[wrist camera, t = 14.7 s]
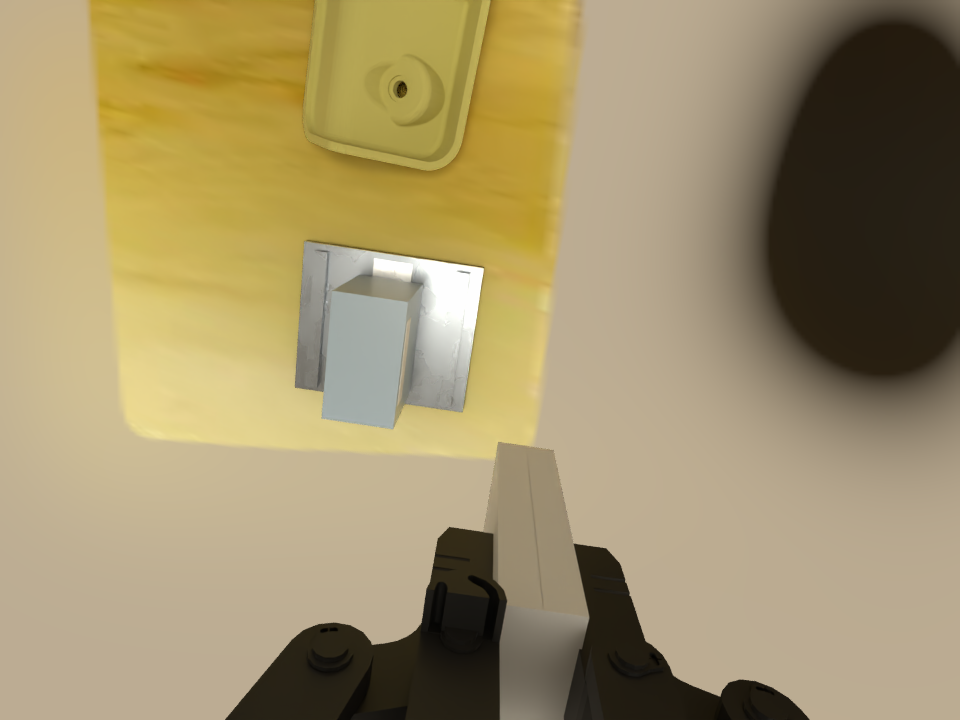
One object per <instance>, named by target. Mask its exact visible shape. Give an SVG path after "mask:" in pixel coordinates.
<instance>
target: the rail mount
mask: <svg viewBox="0 0 960 720" xmlns="http://www.w3.org/2000/svg"><path fill="white" fill-rule="evenodd" d="M483 271H484V267H478V266H472V265H465V264H459V263H452V262H445V261H439V260H432V259H426V258H419V257H412V256H406V255H399V254H393V253H386V252H379V251H373V250H366V249H360V248H353V247H346V246H340V245H333V244H327V243H320V242H313V241H304V256H303V271H302V286H301V301H300V317H299V332H298V347H297V363H296V378H295V388H302V389H309V390H315V391H322V392H324V383H325V371H326V358H327V346H328V334H329V321H330V309H331V296H332V290H334V289H336V288H337V287H339V286H341V285H343V284H344V283H346V282H348V281H350V280H351V279H353V278H355V277H356V276H358V275H365V276H372V277H378V278H385V279H391V280H398V281H405V282H411V283H418V284H423V289H422V297H421V305H420V313H419V321H418V329H417V338H416V346H415V354H414V362H413V370H412V379H411V387H410V393H409V395H408V397H407V400H406V402H405V404H409V405H416V406H423V407H430V408H436V409H443V410H450V411H456V412H463V406H464V399H465V392H466V385H467V379H468V372H469V365H470V358H471V352H472V345H473V338H474V331H475V325H476V318H477V311H478V304H479V298H480V291H481V284H482V277H483Z"/></svg>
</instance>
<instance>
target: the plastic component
mask: <svg viewBox="0 0 960 720" xmlns="http://www.w3.org/2000/svg"><path fill="white" fill-rule="evenodd" d="M490 1H491V0H315V4H314V13H313V22H312V31H311V40H310V49H309V58H308V67H307V75H306V84H305V93H304V102H303V126H304V132H305V135H306V138H307V140H308V141H309V142H311V143H314V144H316V145H318V146H321V147H323V148H325V149H328V150H331V151H335V152H339V153H343V154H348V155H353V156H357V157H362V158H367V159H372V160H377V161H382V162H387V163H392V164H396V165H401V166H406V167H411V168H416V169H421V170H426V171H427V170H436V169H440V168H443V167H444V166H446V165H447V164H449V163H450V162H451V161H452V160H453V159H454V158H455V156H456V155H457V153H458V152H459V149H460V147H461V144H462V140H463V135H464V130H465V125H466V120H467V115H468V110H469V105H470V100H471V95H472V90H473V86H474V81H475V76H476V71H477V66H478V61H479V56H480V51H481V46H482V41H483V36H484V31H485V26H486V21H487V16H488V11H489V6H490ZM402 82H405V83H406V85H407V93H406V95H405V96H404V97H403V98H399V96H398V94H397V88H398V85H399V84H400V83H402Z"/></svg>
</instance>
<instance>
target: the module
mask: <svg viewBox="0 0 960 720" xmlns="http://www.w3.org/2000/svg"><path fill="white" fill-rule="evenodd" d="M422 289H423V284H418V283H411V282H405V281H398V280H391V279H385V278H378V277H372V276H365V275H358V276H356V277H355V278H353V279H351V280H350V281H348V282H346V283H344V284H343V285H341V286H339V287H337V288H336V289H334V290H332V296H331V309H330V321H329V334H328V346H327V358H326V371H325V383H324V396H323V408H322V419H328V420H335V421H342V422H348V423H355V424H362V425H368V426H375V427H382V428H389V429H394V426H395V424H396V422H397V420H398V417H399V415H400V413H401V411H402V409H403V406H404V404H405V402H406V400H407V397H408V395H409V393H410V387H411V379H412V370H413V362H414V354H415V346H416V338H417V329H418V321H419V313H420V305H421V297H422Z"/></svg>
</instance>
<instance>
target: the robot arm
mask: <svg viewBox="0 0 960 720" xmlns="http://www.w3.org/2000/svg"><path fill="white" fill-rule="evenodd" d="M629 594H630V593H629V590H628V586H627V584H626V583H625V577H624V574H623V571H622V568H621V565H620V563H619V562H618V561H617V560H616V559H615V558H614V557H613V555H612V554H611V553H610V552H609V551H608V550H607V549H606V548H600V547H593V546H586V545H578V544H574V543H573V539H572V534H571V530H570V525H569V520H568V516H567V511H566V506H565V502H564V497H563V492H562V488H561V483H560V479H559V474H558V469H557V465H556V460H555V455H554V451H553V450H549V449H542V448H536V447H529V446H522V445H516V444H509V443H502V442H498V447H497V453H496V459H495V465H494V471H493V477H492V484H491V489H490V495H489V501H488V507H487V513H486V519H485V525H484V531H483V532H479V531H472V530H465V529H459V528H451V527H449V528H448V529H447V530H446V531H445V532H444V533H443V534H442V535H441V536H440V537H439V538H438V541H437V547H436V552H435V558H434V564H433V569H432V575H431V580H430V584H429V585H428V587H427V590H426V597H425V604H424V611H423V618H422V623H421V625H420V626H419V627H418V628H417V630H416V631H414V632H413V633H412V634H411V635H409V636H408V637H405V638H403V639H401V640H398V641H395V642H390V643H385V644H376V645H372V644H371V641H370V640H369V639H368V638H367V636H366V635H365V634H364V633H363V632H362V631H360V630H358V629H356V628H354V627H352V626H351V625H345V624H340V623H326V624H318V625H315V626H313V627H310V628H308V629H305V630H303V631H302V632H301V633H300V634H298V635H297V636H296V637H295V638H294V639H292V640H291V642H290V643H289V644H288V645H287V646H286V648H285V649H284V650H283V651H282V652H281V653H280V655H279V656H278V657H277V658H276V660H275V661H274V662H273V663H272V664H271V666H270V667H269V668H268V669H267V670H266V671H265V673H264V674H263V675H262V676H261V677H260V679H259V680H258V681H257V682H256V683H255V685H254V686H253V687H252V688H251V689H250V691H249V692H248V693H247V694H246V695H245V696H244V698H243V699H242V700H241V701H240V702H239V704H238V705H237V706H236V707H235V708H234V710H233V711H232V712H231V713H230V714H229V716H228V717H227V718H226V719H225V720H809V718H808V717H807V716H806V715H805V714H804V713H803V711H802V710H801V709H800V708H798V707H797V706H796V705H795V704H794V703H793V702H792V701H791V700H790V699H789V698H788V697H786V696H784V695H783V694H781V693H780V692H778V691H777V690H775V689H774V688H772V687H769V686H767V685H764V684H761V683H759V682H756V681H749V680H737V681H733V682H730V683H728V685H727V686H726V687H725V688H724V689H723V690H722V693H721V697H719V696H717V695H714V694H711V693H709V692H706V691H704V690H701V689H699V688H696V687H693V686H691V685H689V684H687V683H685V682H683V681H681V680H679V679H677V678H676V677H674V676H673V674H672V672H671V669H670V666H669V665H668V663H667V661H666V660H665V658H664V657H663V655H662V654H661V653H660V652H659V651H658V650H657V649H656V648H654V647H653V646H652V645H651V644H649V643H647V642H646V641H645V638H644V635H643V632H642V629H641V626H640V623H639V620H638V617H637V614H636V611H635V608H634V605H633V602H632V599H631V596H629Z"/></svg>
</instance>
